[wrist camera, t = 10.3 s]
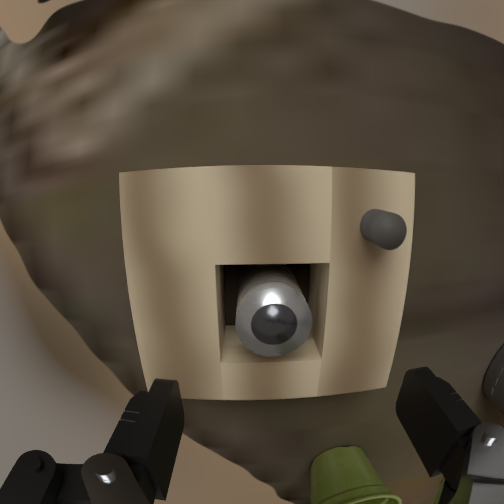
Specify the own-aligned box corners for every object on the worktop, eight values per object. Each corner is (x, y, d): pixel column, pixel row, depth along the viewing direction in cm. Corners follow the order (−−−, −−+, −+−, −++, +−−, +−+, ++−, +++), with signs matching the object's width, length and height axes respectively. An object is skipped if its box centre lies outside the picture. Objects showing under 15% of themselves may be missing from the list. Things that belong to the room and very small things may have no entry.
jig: (379, 174, 19) (434, 173, 13) (363, 351, 23) (396, 404, 16) (148, 174, 19) (102, 172, 12) (165, 357, 22) (141, 414, 16)
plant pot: (277, 464, 26) (283, 530, 17) (352, 421, 24) (379, 488, 16) (323, 489, 27) (335, 542, 19) (389, 452, 26) (414, 505, 18)
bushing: (296, 258, 21) (314, 287, 15) (294, 311, 22) (309, 355, 16) (238, 259, 21) (234, 289, 15) (239, 312, 22) (236, 357, 16)
